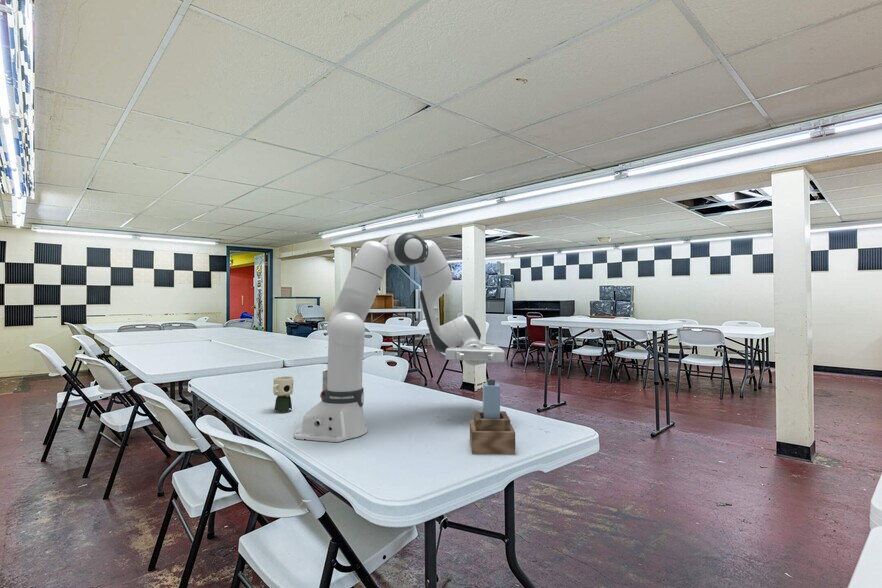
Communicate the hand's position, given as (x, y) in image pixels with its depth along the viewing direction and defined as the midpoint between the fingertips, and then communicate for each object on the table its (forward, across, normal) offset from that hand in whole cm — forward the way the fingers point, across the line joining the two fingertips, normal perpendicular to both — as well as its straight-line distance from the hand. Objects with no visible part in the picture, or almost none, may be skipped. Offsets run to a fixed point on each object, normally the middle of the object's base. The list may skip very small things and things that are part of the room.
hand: (476, 357), depth 134 cm
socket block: (+14, +4, +24) cm, 28 cm away
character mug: (-23, -72, +27) cm, 80 cm away
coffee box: (-23, -52, +26) cm, 62 cm away
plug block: (+14, +4, +18) cm, 23 cm away
